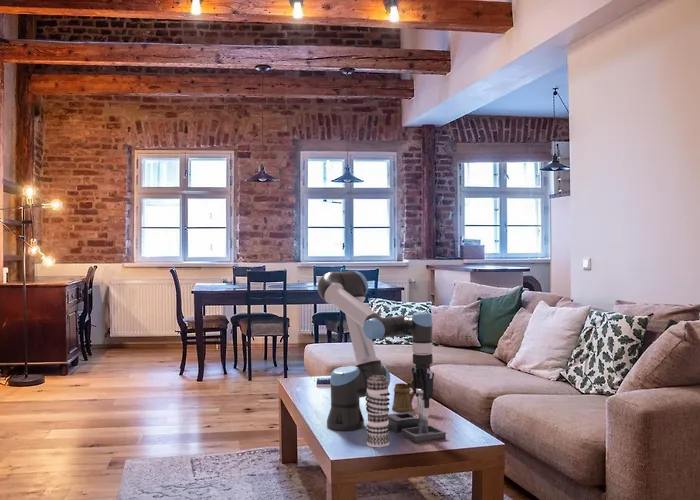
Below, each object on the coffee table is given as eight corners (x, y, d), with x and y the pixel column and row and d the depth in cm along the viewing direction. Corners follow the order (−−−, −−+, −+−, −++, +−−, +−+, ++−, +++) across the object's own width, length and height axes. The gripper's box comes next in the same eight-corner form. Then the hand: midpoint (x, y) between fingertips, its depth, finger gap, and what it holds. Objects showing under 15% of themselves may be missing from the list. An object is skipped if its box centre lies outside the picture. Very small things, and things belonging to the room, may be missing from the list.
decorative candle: (389, 439, 245) (388, 373, 245) (391, 447, 236) (391, 378, 235) (365, 440, 245) (364, 373, 244) (366, 447, 235) (365, 378, 235)
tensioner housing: (396, 433, 253) (396, 413, 253) (385, 427, 262) (385, 407, 262) (430, 429, 258) (430, 409, 258) (418, 422, 267) (417, 403, 267)
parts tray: (415, 443, 240) (415, 436, 240) (401, 435, 250) (401, 429, 250) (445, 439, 245) (445, 432, 245) (431, 431, 255) (431, 425, 255)
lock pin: (420, 434, 244) (420, 391, 244) (414, 431, 249) (413, 388, 249) (432, 433, 246) (432, 389, 246) (426, 429, 251) (425, 387, 251)
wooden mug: (424, 411, 286) (423, 370, 286) (393, 412, 285) (393, 371, 285) (420, 406, 295) (419, 366, 295) (390, 407, 293) (390, 367, 293)
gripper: (442, 355, 241) (442, 418, 241) (420, 349, 256) (421, 409, 256) (424, 357, 238) (424, 421, 238) (403, 350, 253) (404, 411, 253)
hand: (423, 414), depth 247 cm, fingers closed on lock pin, 3 cm apart
